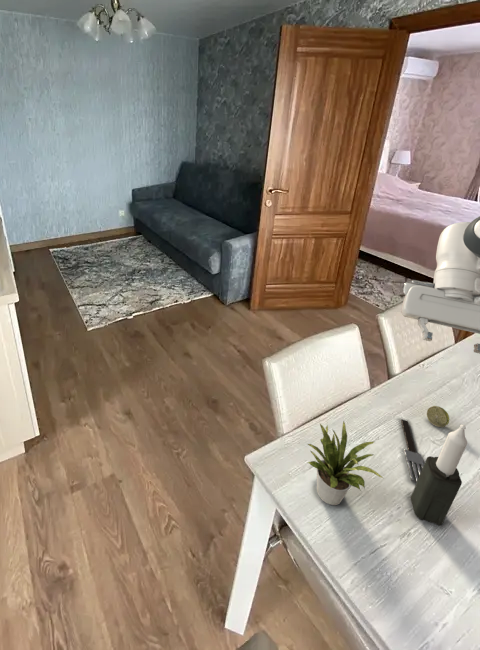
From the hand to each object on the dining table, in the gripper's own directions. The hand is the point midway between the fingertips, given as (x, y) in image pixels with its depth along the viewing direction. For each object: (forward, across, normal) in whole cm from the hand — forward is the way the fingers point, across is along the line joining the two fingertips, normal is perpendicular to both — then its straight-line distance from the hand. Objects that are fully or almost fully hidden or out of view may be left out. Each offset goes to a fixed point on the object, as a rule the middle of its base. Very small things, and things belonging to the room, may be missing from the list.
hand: (452, 346), depth 76 cm
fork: (+23, -1, +21) cm, 31 cm away
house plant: (+38, -17, +7) cm, 42 cm away
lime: (+14, +6, +30) cm, 34 cm away
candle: (+34, 0, +11) cm, 36 cm away
